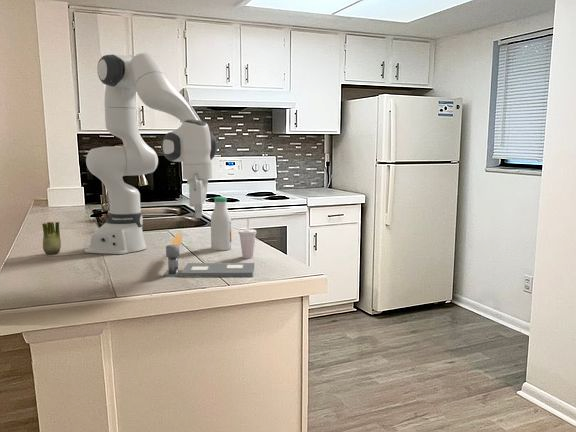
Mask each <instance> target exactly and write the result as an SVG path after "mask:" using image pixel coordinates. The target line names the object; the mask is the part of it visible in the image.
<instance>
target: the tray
mask: <svg viewBox="0 0 576 432" xmlns="http://www.w3.org/2000/svg"><path fill="white" fill-rule="evenodd" d="M182 270H183V271H182V272H181V275H180V277H181V278H183V277H184V278H185V277H186V276H187V277H188V276H196V277H201V278H203V277H208V278H209V277H212V278H213V277H214V276H217V278H218V277H221V278H222V277H226V278H227V277H230V278H231V277H253V276H254V271H255V262H192V263H191V262H188V263H187V264H186V265H185V267H184V268H183V269H182ZM187 277H186V278H187Z"/></svg>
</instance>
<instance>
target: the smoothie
mask: <svg viewBox="0 0 576 432" xmlns="http://www.w3.org/2000/svg"><path fill="white" fill-rule="evenodd" d="M249 220H250V219H249V218H247V219H246V221H247V222H246V223H247V224H246V226H247V227H246V228H245V229H239V230H238V235H239V240H240V247H241V256H242V259H246V260H247V259H253V258H254V252H255V243H256V235H257V229H254V228H253V229H252V228H251V229H250V221H249Z"/></svg>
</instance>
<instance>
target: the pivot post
mask: <svg viewBox="0 0 576 432" xmlns="http://www.w3.org/2000/svg"><path fill="white" fill-rule="evenodd" d="M167 264H168V265H167V267H168V269H166V271H165V272H164V273H163V277H181V272H182V271H183V270H184V269H179V257H174V258H169V257H167Z"/></svg>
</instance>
